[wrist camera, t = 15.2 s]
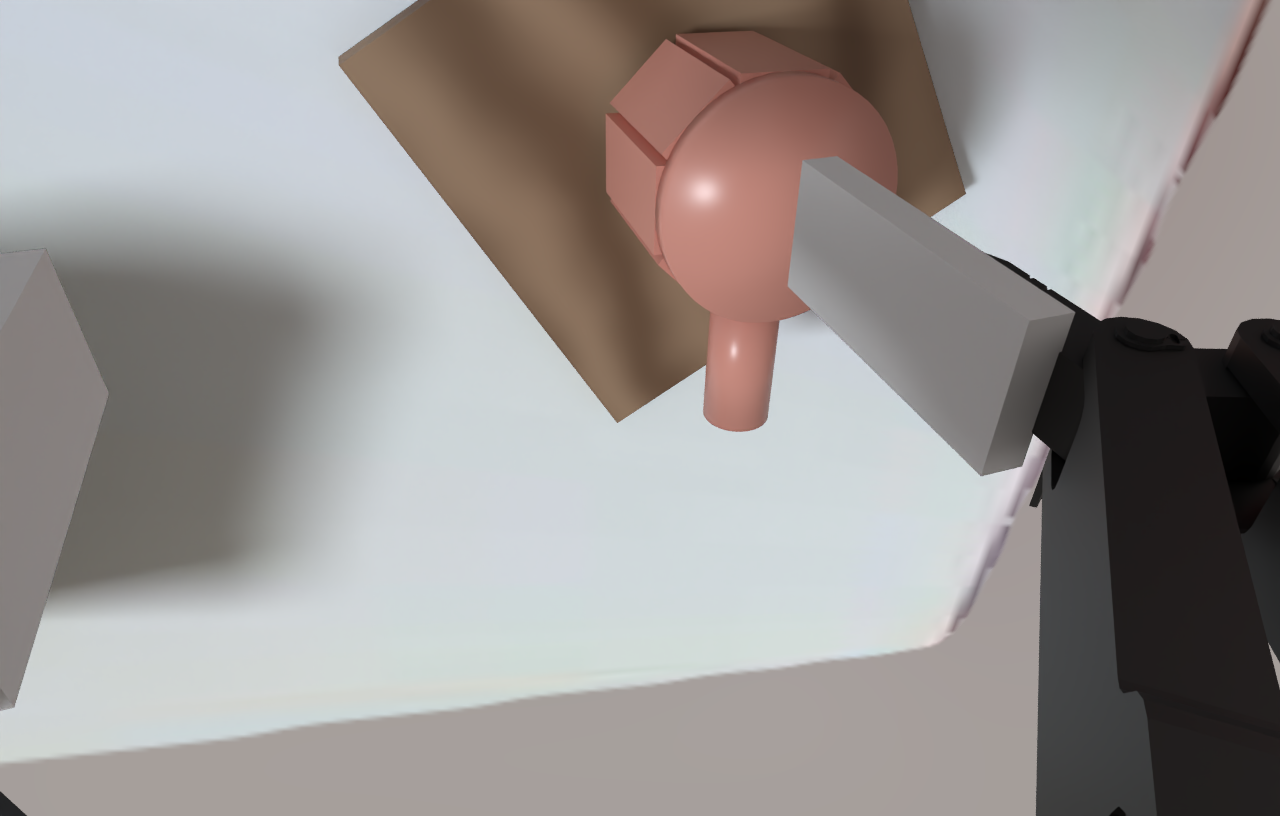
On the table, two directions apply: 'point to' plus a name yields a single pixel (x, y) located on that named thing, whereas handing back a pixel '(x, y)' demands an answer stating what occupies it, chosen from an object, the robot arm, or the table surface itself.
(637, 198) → the cap
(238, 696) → the table surface
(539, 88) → the base
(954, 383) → the robot arm
